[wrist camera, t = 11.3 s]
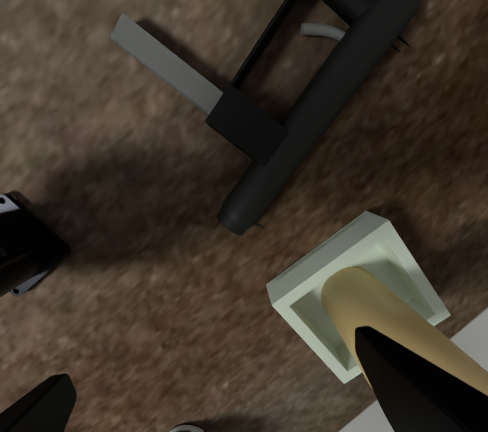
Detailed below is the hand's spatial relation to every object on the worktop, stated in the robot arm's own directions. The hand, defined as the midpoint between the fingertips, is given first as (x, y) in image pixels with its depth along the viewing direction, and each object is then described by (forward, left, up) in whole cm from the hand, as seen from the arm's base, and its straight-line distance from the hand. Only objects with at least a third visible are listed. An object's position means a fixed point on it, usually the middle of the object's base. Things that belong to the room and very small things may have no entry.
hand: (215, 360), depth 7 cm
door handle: (+9, +8, -14) cm, 18 cm away
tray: (+5, -12, -13) cm, 18 cm away
